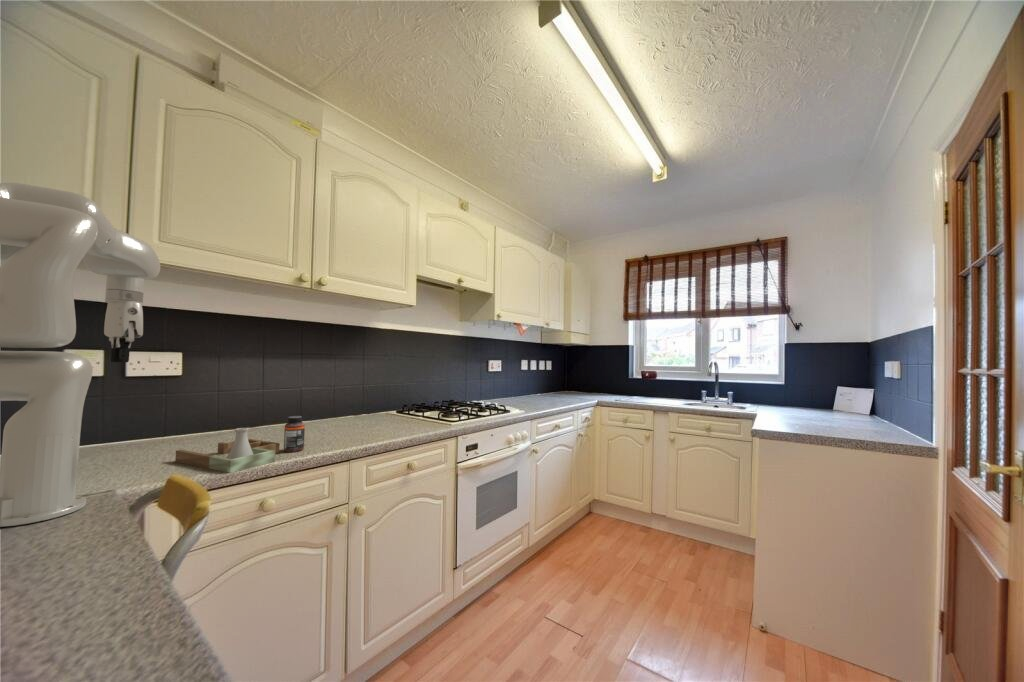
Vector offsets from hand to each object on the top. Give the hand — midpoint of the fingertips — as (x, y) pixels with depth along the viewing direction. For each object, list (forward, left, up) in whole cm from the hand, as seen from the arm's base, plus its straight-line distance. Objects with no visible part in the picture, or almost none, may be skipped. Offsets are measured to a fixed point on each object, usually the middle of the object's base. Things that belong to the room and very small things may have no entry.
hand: (119, 362), depth 105 cm
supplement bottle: (+34, -28, -29) cm, 53 cm away
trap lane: (+20, -23, -29) cm, 42 cm away
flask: (+17, -28, -29) cm, 44 cm away
